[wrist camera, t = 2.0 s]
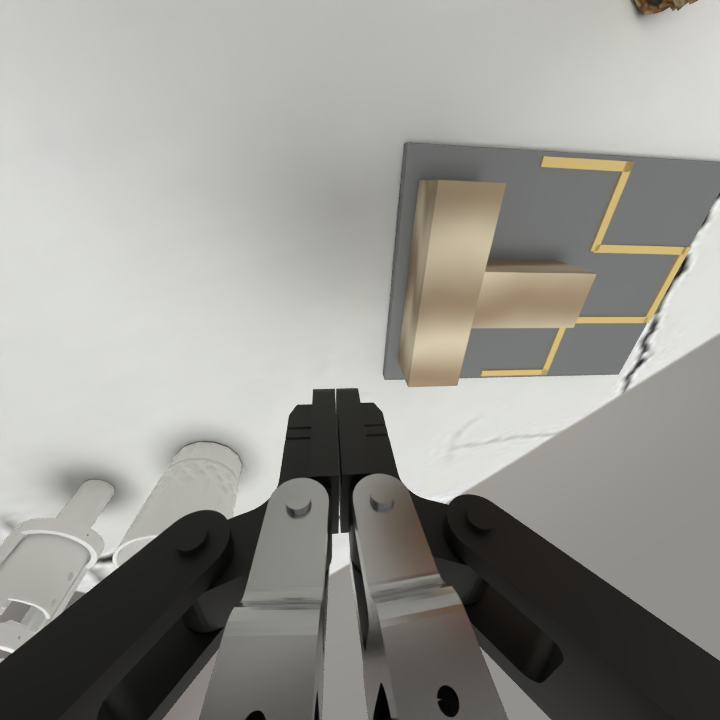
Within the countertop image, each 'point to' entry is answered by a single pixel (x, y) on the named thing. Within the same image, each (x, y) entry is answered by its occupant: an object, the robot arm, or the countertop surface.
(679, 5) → the bread
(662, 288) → the board
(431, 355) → the t block
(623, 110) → the countertop surface
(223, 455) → the white cup
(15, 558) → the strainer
